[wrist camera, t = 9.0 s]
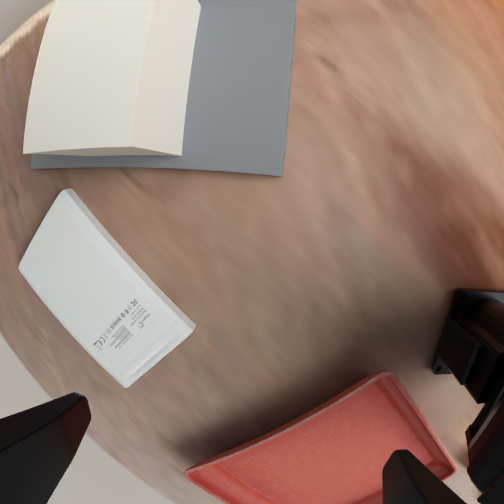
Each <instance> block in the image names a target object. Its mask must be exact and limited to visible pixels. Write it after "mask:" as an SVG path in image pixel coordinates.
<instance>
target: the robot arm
mask: <svg viewBox="0 0 504 504" xmlns="http://www.w3.org/2000/svg"><path fill="white" fill-rule="evenodd" d="M462 294H463V296H462V298H461V299H460V296H461V295H462ZM438 366H439V367H438ZM437 367H438V368H437ZM436 368H437V369H436ZM431 371H432V372H433V373H434V374H436V375H437V374H453V375H454V377H455V378H456V379H457V381H458V382H459V383H460V385H464V386H465V388H466V389H467V390H468V392H469V393H470V394H471V396H472V397H473V399H474V400H475V401H476V403H477V404H480V403H483V404H484V406H483V408H482V409H481V411H480V413H479V414H478V416H477V417H476V419H475V420H474V422H473V423H472V425H470V426H469V427H468V428H467V430H466V431H465V434H466V440H467V446H468V457H469V464H470V465H469V466H468V468H467V473H468V475H469V477H470V479H471V481H472V483H473V484H474V486H475V487H476V488H477V490H478V491H479V492H481V493H482V494H481V495H480V496H479V497H478V499H477V501H478V502H479V503H481V504H504V292H502V291H489V290H477V289H465V288H461V289H458V290H457V291H456V293H455V295H454V299H453V302H452V306H451V309H450V313H449V316H448V319H447V321H446V324H445V327H444V330H443V333H442V336H441V339H440V342H439V345H438V348H437V351H436V355H435V357H434V360H433V363H432V365H431ZM90 421H91V413H90V409H89V404H88V400H87V398H86V397H85V396H84V395H81V394H79V393H76V392H73V393H70V394H67V395H65V396H62V397H60V398H57V399H54V400H52V401H49V402H47V403H44V404H42V405H38V406H36V407H33V408H30V409H28V410H25V411H22V412H19V413H16V414H13V415H10V416H7V417H4V418H1V419H0V504H47V502H48V500H49V498H50V497H51V495H52V493H53V492H54V490H55V488H56V487H57V485H58V483H59V482H60V480H61V478H62V477H63V475H64V473H65V472H66V470H67V468H68V467H69V465H70V463H71V461H72V460H73V458H74V456H75V454H76V452H77V449H78V447H79V445H80V443H81V441H82V438H83V436H84V434H85V432H86V430H87V428H88V425H89V423H90ZM382 489H383V504H466V503H465V502H464V501H463V500H462V499H461V498H460V497H459V496H458V495H456V494H455V493H454V492H453V491H452V490H451V489H450V488H449V487H448V486H447V485H445V484H444V483H443V482H442V481H441V480H440V479H439V478H438V477H437V476H436V475H435V474H434V473H433V472H431V471H430V470H429V469H428V468H427V467H426V466H425V465H424V464H423V463H422V462H421V461H420V460H419V459H418V458H417V457H415V456H414V455H413V454H412V453H411V452H410V451H409V450H407V449H400V450H395V451H393V453H392V454H391V456H390V457H389V459H388V460H387V462H386V463H385V465H384V467H383V470H382Z"/></svg>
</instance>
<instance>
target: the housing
mask: <svg viewBox="0 0 504 504" xmlns="http://www.w3.org/2000/svg"><path fill="white" fill-rule="evenodd" d="M200 10H201V5H200V3H199V2H198V0H55V2H54V4H53V7H52V10H51V13H50V16H49V19H48V22H47V25H46V29H45V32H44V35H43V39H42V42H41V46H40V50H39V54H38V58H37V62H36V67H35V71H34V76H33V81H32V86H31V91H30V97H29V103H28V110H27V117H26V125H25V134H24V145H23V154H52V155H76V156H120V155H163V156H182V145H183V134H184V123H185V114H186V105H187V96H188V88H189V80H190V73H191V65H192V58H193V52H194V45H195V39H196V33H197V27H198V21H199V15H200Z"/></svg>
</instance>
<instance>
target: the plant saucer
mask: <svg viewBox="0 0 504 504" xmlns="http://www.w3.org/2000/svg"><path fill="white" fill-rule="evenodd" d="M400 449H407V450H409V451H410V452H411V453H412V454H413V455H414V456H415V457H417V458H418V459H419V460H420V461H421V462H422V463H423V464H424V465H425V466H426V467H427V468H428V469H429V470H430V471H431V472H433V473H434V474H435V475H436V476H437V477H438V478H439V479H440V480H441V481H442V482H443V481H444V480H446V479H448V478H449V477H451V476H452V475H453V474H454V473H455V472H456V471H457V470H458V467H457V466H456V464H455V463H454V461H453V459H452V458H451V456H450V455H449V453H448V452H447V450H446V449H445V447H444V446H443V444H442V443H441V441H440V440H439V438H438V437H437V435H436V434H435V432H434V431H433V429H432V427H431V426H430V424H429V423H428V421H427V420H426V419H425V417H424V415H423V414H422V413H421V411H420V410H419V408H418V407H417V405H416V404H415V402H414V401H413V400H412V398H411V396H410V395H409V394H408V392H407V391H406V389H405V387H404V386H403V385H402V384H401V382H400V380H399V379H398V378H397V376H396V375H395V374H393V373H392V372H388V371H384V372H379V373H375V374H372V375H370V376H367V377H365V378H364V379H362V380H360V381H359V382H357V383H355V384H354V385H352V386H351V387H349V388H347V389H346V390H344V391H343V392H341V393H339V394H338V395H336V396H334V397H333V398H331V399H329V400H328V401H326V402H324V403H323V404H321V405H319V406H318V407H316V408H314V409H312V410H310V411H309V412H307V413H305V414H303V415H301V416H299V417H298V418H296V419H294V420H292V421H290V422H288V423H286V424H284V425H282V426H280V427H278V428H276V429H274V430H272V431H270V432H268V433H266V434H264V435H262V436H260V437H257V438H255V439H253V440H251V441H249V442H246V443H244V444H242V445H239V446H237V447H235V448H232V449H230V450H228V451H225V452H223V453H220V454H218V455H215V456H213V457H211V458H209V459H206V460H204V461H202V462H200V463H198V464H196V465H194V466H193V467H191V468H189V469H187V470H186V471H185V472H184V475H185V477H186V478H187V479H188V480H190V481H192V482H193V483H194V484H196V485H198V486H199V487H201V488H202V489H204V490H205V491H207V492H208V493H210V494H211V495H213V496H215V497H216V498H218V499H219V500H221V501H223V502H225V503H226V504H383V489H382V470H383V467H384V465H385V463H386V462H387V460H388V459H389V457H390V456H391V454H392V453H393V451H395V450H400Z"/></svg>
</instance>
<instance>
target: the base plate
mask: <svg viewBox="0 0 504 504" xmlns="http://www.w3.org/2000/svg"><path fill="white" fill-rule="evenodd" d="M198 2H199V3H200V5H201V10H200V15H199V21H198V27H197V33H196V39H195V45H194V52H193V58H192V65H191V73H190V80H189V88H188V96H187V105H186V114H185V123H184V134H183V145H182V156H163V155H120V156H76V155H52V154H31V168H30V169H48V168H81V167H137V168H171V169H193V170H210V171H225V172H238V173H250V174H261V175H271V176H281V177H282V174H283V164H284V153H285V142H286V131H287V120H288V108H289V96H290V83H291V71H292V57H293V43H294V29H295V13H296V0H198Z"/></svg>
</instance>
